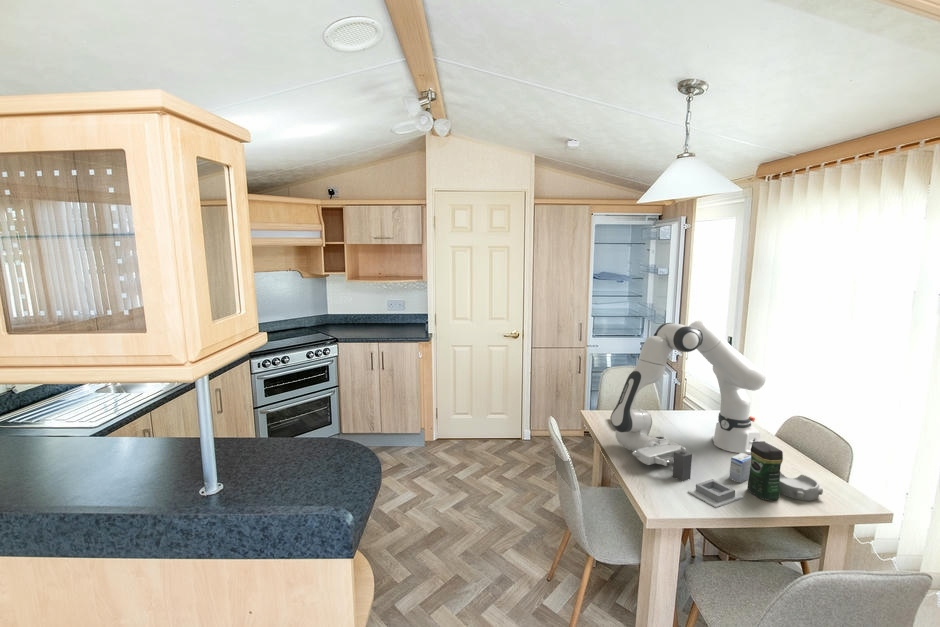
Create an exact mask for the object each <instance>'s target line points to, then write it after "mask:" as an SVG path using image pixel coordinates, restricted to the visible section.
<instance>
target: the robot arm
mask: <svg viewBox="0 0 940 627" xmlns="http://www.w3.org/2000/svg"><path fill="white" fill-rule="evenodd" d="M674 350H675V351H679V352H682V353H691V352H693V351H695V350H697V351H698V352H699V353H700V354H701V355H702V356H703V357H704V358H705V360H706V361H707V362H708V363H710V364H711V365H712V372H713V374H714V375H715V377H716V380H717V382H718V386H719V392H720V393H719V394H720V409H719V410H720V411H719V413H718V417H717V418H718V420H717V421H718V422H716V425H715V428H714V434H713V436H711V440H713V445H714V446H715V447H716V448H719V449H722V450H723V451H726V452H732V453H735V454H736V453H738V454H740V453H744V454H747V455H751V446H752V444H753V443H754V442H757V441H761V433H760V432H759V430H757V429H756V428H755V427H754V426H753V425H752V422H755V420H756V417H755V416H751V415H750V411H751V410H750V408H751V400H750V399H751V398H750V397H749V396H748V394H747V391H753V392H755V391H757V390H760V389H761V388H762V387H763V386H764V384H765V383H766V375H765V372H763V370H762V369H761V368H759V367H757V366H756V365H755V364H753V362H751V360H749V359H748V358H746V357H745V356H744V355H743V354H742V353H740V352H739V351H738V350H737V349H735V348H734V347H733V346H732V345H731V344H730V343H729V342H728V341H727V340H726V339H725V338H724V337H723V335H721V334H720V332H719V331H718V330H717V329H716V328H714V327H713V326H712V325H710V324H709V323H708V322H706V321H704V320H696V321H695V320H694V322H691V323H690V324H689V326H688V325H686V324H682V323H672V322H665V323H662V324H661V325H660V326H658V327H657V329H656V331H655V333H653V335H651V336H649V337H647V338H646V339H645V341H644V342H643V344H642V347H641V350H640V352H639V357H638V360H637V363H636V365H635V368H634V369H633V371H632V372H631V373H629V374H628V376H627V378H626V381H625V384H624V385H623V389H622V391H621V393H620V395H619V399H618V401H617V403H616V406H615V407H614V409H613V410H612V412H611V415H610V416H611V419H610V423H611V426H613V429H614V428H615V429H616V431H615V433H614V434H615V438H616V441H617V443H619V444H620V445H621V446H623V447H625V448H626V449H628V450H629V451H632V452H631V455H632V456H634V457H636V459H637V460H638V461H640V462H641V463H643V464H645V465H648V466H650V465H653V464H657V465H663V466H664V467H666V466H669V465H670V461H669V460H673V459H674V452H675V451H679V450H681V447H683V446H682V445H681V444H678V443H676V442H674V441H672V440H670V439H669V440H668V439H667V437H665V436H653V435H649V434H650V431H651V428H652V424H653V419H652V415H651V414H650V412H649V411H648V410H646V409H643V408H642V409H641V408H633V407H634V404H635V401H636V400H637V396H638V393H639V392H640V391H641V390H642V389H643V388H645V387H646V386H649V385H652V384H655V383H657V382H658V381H660V380H661V379H662V378H663V376H664V375H665V371H666V367H667V363H668V357H669V355H670V354H671V352H673V351H674ZM746 390H747V391H746ZM615 429H614V430H615Z"/></svg>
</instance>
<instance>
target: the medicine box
mask: <svg viewBox="0 0 940 627" xmlns="http://www.w3.org/2000/svg"><path fill="white" fill-rule="evenodd" d="M750 467H751V454H746V453H738V454H736V455H734V456H732V457H730V467H729V477H728V478H729V479H730V480H732V479H733V480H732V481H734V480H735V482H737V483H739V482H740V483H739V484H742V483H743V482H745V481H748V480H749V474H750Z"/></svg>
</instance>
